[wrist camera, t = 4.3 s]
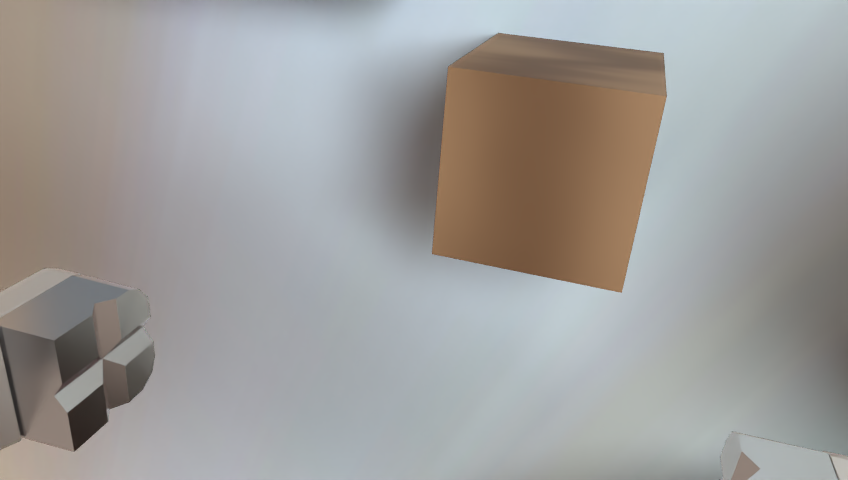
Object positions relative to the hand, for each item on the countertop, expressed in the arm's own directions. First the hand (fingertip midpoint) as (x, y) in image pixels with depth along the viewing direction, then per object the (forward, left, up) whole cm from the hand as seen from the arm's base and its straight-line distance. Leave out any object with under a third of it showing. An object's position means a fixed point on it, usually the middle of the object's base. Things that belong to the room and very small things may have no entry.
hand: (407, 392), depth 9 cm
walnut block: (0, 0, -15) cm, 15 cm away
